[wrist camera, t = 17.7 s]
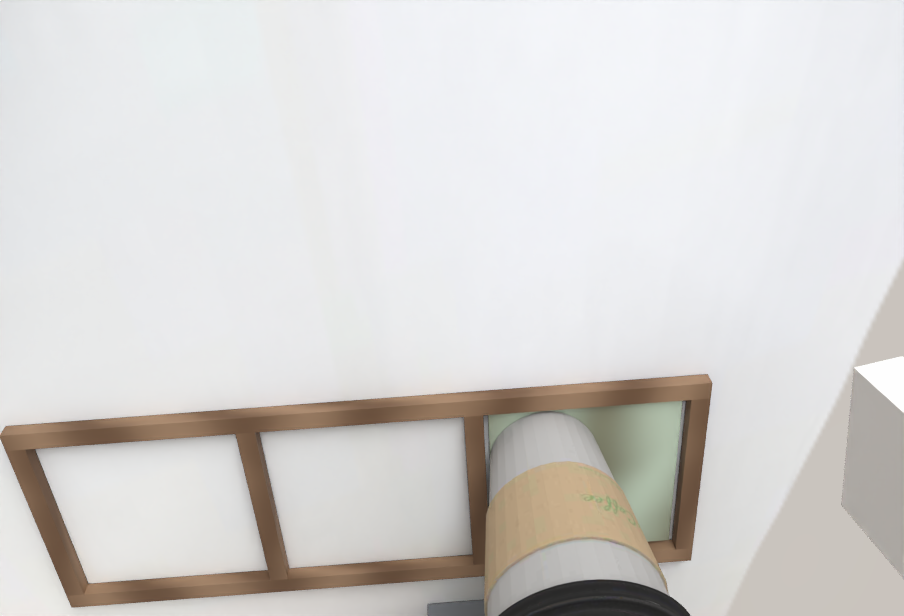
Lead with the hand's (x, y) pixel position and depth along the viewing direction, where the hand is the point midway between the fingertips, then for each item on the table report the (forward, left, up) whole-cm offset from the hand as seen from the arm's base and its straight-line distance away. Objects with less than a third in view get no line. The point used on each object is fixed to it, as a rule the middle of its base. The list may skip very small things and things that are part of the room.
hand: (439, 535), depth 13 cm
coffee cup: (+5, -21, -27) cm, 34 cm away
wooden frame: (-5, -23, -27) cm, 36 cm away
